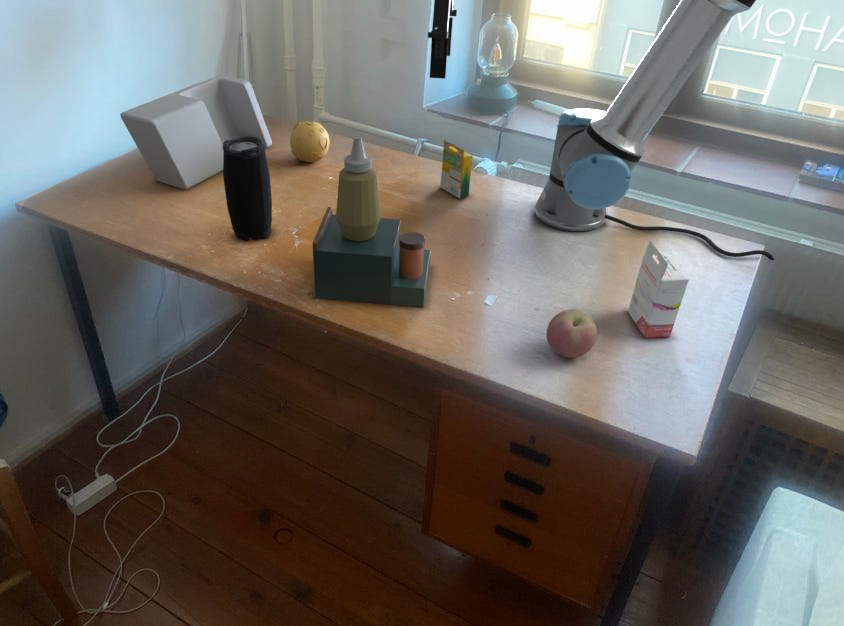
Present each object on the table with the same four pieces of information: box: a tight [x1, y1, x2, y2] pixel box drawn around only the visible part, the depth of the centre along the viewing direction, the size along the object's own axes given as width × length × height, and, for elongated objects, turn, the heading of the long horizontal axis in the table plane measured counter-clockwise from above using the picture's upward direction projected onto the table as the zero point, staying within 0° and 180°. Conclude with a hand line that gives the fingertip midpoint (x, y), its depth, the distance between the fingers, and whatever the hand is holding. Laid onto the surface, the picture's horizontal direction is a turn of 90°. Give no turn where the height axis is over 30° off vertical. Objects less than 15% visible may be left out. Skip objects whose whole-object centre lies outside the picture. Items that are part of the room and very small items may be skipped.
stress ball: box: [289, 120, 331, 163], centre depth 176 cm, size 10×10×10 cm
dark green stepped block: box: [311, 206, 432, 308], centre depth 131 cm, size 20×14×12 cm
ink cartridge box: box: [627, 240, 690, 339], centre depth 121 cm, size 9×5×15 cm, turn 5°
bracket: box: [119, 74, 273, 191], centre depth 169 cm, size 30×10×30 cm, turn 149°
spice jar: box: [399, 231, 426, 279], centre depth 128 cm, size 5×5×7 cm
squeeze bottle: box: [335, 135, 381, 241], centre depth 123 cm, size 8×8×18 cm
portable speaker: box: [222, 136, 273, 243], centre depth 143 cm, size 9×9×20 cm
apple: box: [545, 309, 598, 359], centre depth 116 cm, size 8×8×8 cm
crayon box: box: [440, 139, 473, 200], centre depth 163 cm, size 7×3×12 cm, turn 34°
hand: (440, 66), depth 127 cm, fingers open, 13 cm apart
